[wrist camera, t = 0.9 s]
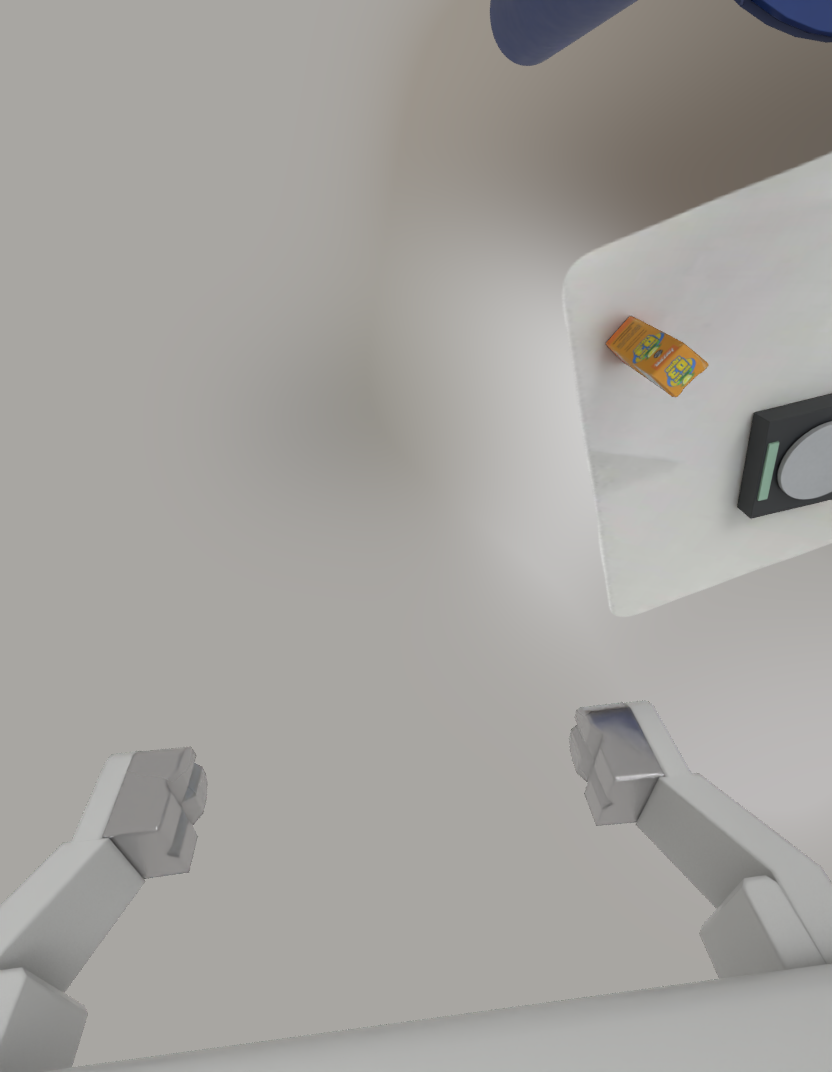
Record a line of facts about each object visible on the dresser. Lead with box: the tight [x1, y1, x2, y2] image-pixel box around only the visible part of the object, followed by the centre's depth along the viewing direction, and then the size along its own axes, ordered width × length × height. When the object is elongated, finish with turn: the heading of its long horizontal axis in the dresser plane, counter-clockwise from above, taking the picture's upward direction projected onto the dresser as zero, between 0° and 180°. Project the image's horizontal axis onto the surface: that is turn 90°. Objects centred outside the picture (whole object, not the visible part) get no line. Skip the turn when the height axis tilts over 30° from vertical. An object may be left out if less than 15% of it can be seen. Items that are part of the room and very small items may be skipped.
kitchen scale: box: [737, 394, 832, 518], centre depth 54 cm, size 12×11×3 cm
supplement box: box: [606, 316, 708, 397], centre depth 43 cm, size 3×4×10 cm
